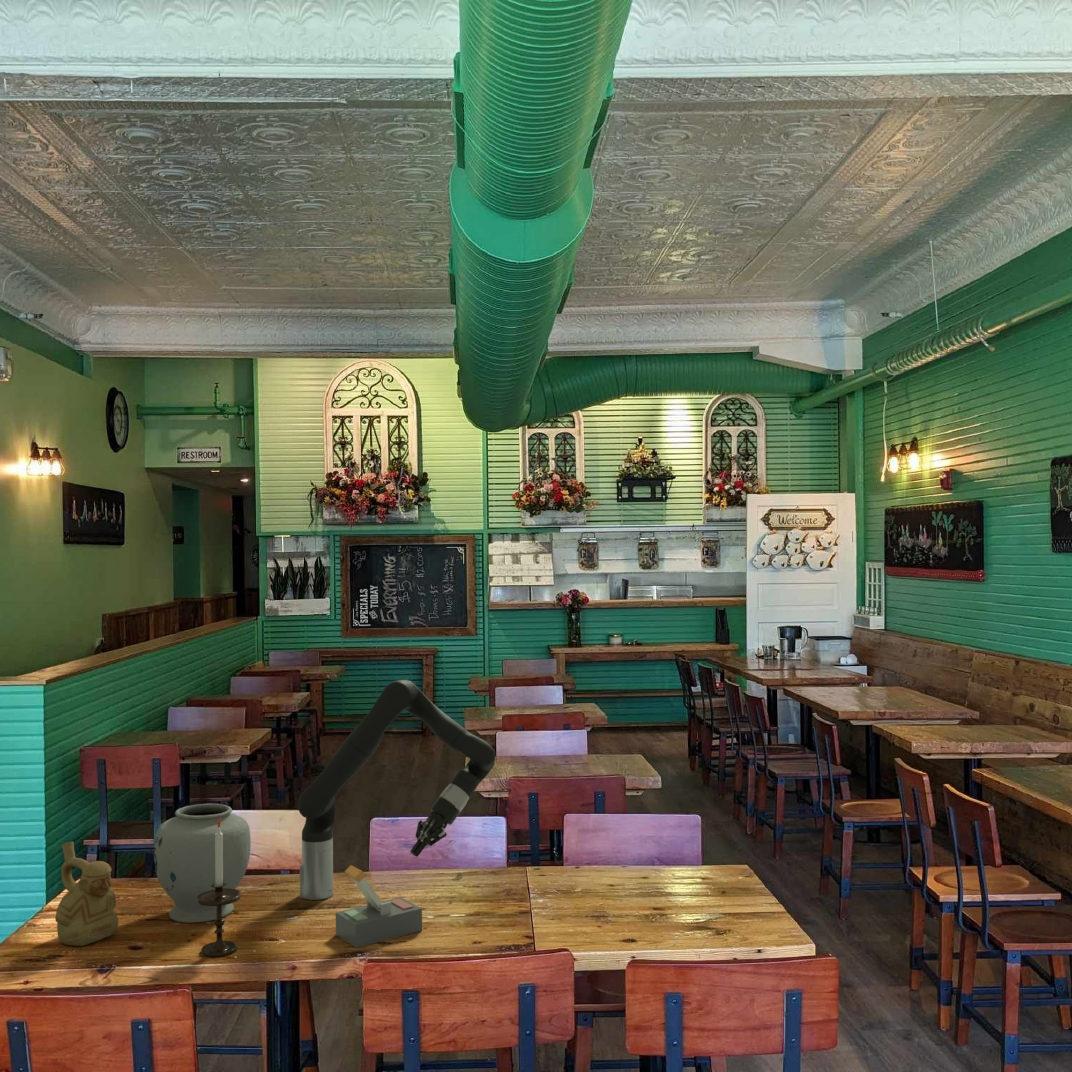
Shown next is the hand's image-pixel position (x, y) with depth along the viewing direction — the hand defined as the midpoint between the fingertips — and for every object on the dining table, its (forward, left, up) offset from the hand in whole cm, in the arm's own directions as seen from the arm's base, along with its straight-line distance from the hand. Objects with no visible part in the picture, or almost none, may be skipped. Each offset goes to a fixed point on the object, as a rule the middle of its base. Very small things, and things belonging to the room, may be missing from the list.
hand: (413, 854), depth 280 cm
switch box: (-8, -8, -19) cm, 22 cm away
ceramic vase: (-64, +2, -19) cm, 67 cm away
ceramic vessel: (-87, -20, -19) cm, 91 cm away
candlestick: (-46, -25, -19) cm, 56 cm away
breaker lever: (-8, -8, -12) cm, 16 cm away
